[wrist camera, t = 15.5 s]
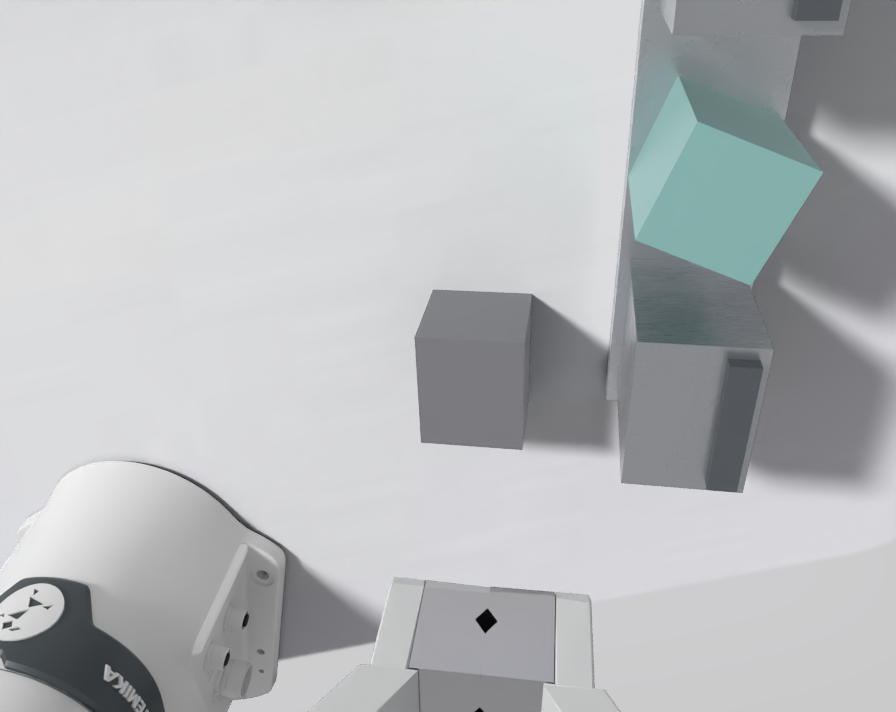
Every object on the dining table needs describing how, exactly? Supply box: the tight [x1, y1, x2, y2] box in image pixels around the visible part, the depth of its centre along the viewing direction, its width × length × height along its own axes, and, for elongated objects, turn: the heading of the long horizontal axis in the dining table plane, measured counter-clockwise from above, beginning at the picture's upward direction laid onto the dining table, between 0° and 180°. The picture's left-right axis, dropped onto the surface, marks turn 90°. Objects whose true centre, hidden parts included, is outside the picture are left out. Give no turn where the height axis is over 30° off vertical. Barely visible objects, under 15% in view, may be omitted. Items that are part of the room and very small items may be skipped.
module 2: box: [628, 75, 823, 285], centre depth 30 cm, size 4×4×7 cm
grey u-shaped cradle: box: [606, 0, 851, 493], centre depth 30 cm, size 26×6×9 cm, turn 2°
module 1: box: [415, 290, 532, 450], centre depth 39 cm, size 6×5×5 cm
